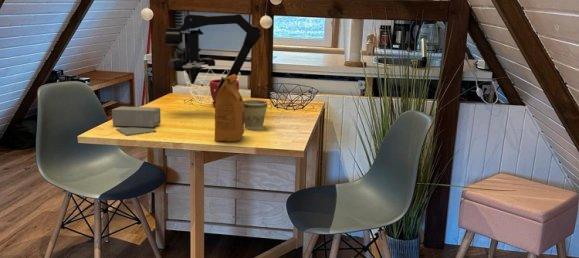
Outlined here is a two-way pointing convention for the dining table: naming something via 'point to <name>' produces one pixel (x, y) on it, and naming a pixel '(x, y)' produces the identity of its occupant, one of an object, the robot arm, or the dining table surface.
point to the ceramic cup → (254, 114)
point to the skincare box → (136, 116)
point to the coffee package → (229, 112)
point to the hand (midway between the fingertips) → (192, 83)
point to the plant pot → (214, 87)
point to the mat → (135, 130)
